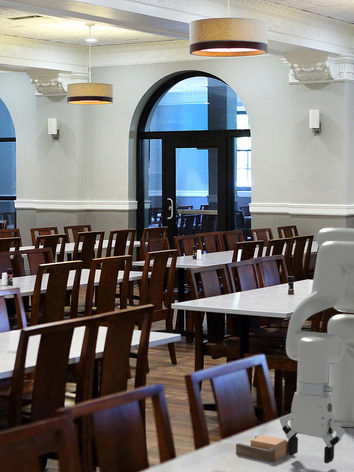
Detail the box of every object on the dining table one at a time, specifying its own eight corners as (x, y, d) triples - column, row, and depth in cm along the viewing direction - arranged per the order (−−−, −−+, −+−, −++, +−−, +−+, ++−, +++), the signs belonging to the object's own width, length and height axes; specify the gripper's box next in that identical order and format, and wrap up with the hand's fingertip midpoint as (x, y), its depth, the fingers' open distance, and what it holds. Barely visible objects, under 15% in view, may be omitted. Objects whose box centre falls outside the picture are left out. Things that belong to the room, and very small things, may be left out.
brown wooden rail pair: (257, 445, 224) (257, 433, 224) (292, 453, 218) (292, 440, 218) (235, 453, 216) (235, 441, 216) (271, 462, 210) (271, 449, 210)
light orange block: (261, 450, 221) (261, 434, 221) (286, 455, 217) (286, 439, 217) (250, 455, 216) (250, 440, 216) (275, 460, 212) (275, 444, 212)
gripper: (352, 391, 206) (349, 461, 207) (289, 380, 216) (287, 448, 217) (337, 396, 200) (335, 469, 201) (273, 385, 211) (272, 454, 211)
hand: (310, 458), depth 209 cm, fingers open, 9 cm apart
